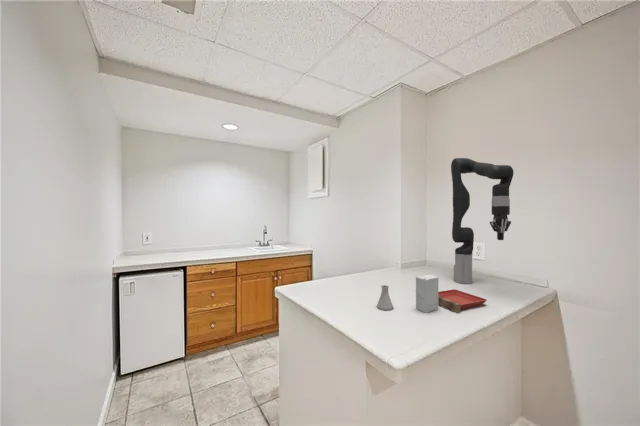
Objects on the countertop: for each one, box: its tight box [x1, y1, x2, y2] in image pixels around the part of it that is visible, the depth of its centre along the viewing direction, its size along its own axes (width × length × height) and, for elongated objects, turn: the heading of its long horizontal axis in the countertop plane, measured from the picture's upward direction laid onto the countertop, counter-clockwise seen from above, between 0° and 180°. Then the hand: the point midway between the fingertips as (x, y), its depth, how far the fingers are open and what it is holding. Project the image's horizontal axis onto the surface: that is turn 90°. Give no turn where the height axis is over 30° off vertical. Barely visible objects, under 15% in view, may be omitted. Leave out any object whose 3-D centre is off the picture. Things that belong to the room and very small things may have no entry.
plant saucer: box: [438, 288, 488, 310], centre depth 129 cm, size 18×18×3 cm
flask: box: [375, 284, 394, 311], centre depth 122 cm, size 7×7×10 cm
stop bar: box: [438, 296, 462, 314], centre depth 125 cm, size 20×2×4 cm, turn 22°
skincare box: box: [415, 274, 439, 314], centre depth 120 cm, size 8×6×15 cm
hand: (500, 240), depth 134 cm, fingers closed
